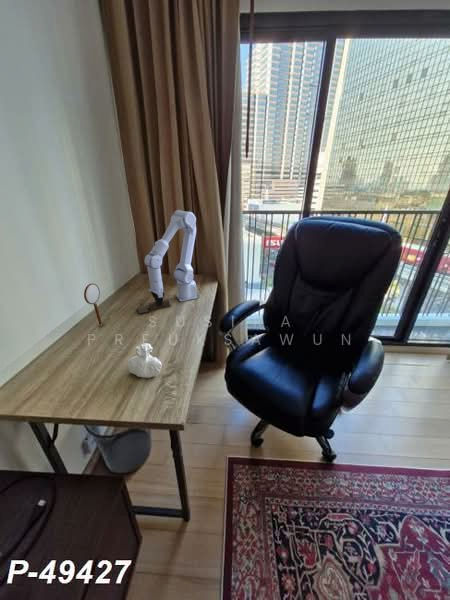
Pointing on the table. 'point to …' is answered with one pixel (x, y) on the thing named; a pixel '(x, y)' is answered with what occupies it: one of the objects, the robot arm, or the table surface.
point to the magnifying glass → (93, 298)
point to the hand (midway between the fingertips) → (159, 304)
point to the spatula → (154, 306)
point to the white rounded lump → (144, 362)
